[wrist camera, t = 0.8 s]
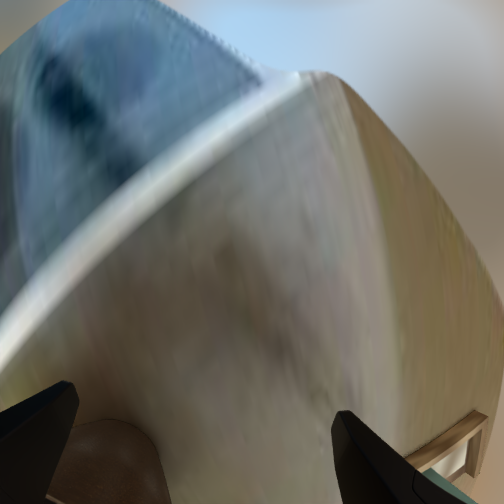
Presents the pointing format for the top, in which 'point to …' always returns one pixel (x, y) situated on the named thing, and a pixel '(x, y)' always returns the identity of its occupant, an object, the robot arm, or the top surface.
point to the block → (447, 485)
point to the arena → (455, 449)
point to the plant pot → (108, 467)
